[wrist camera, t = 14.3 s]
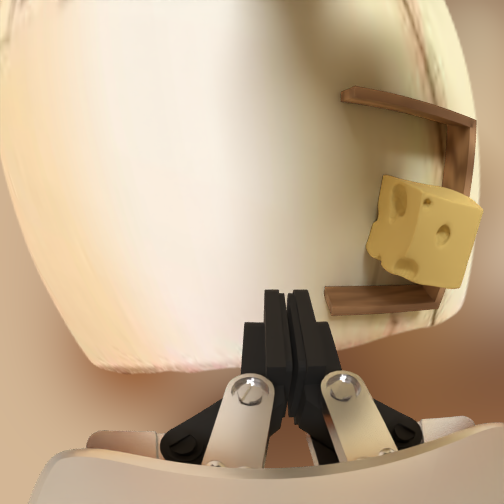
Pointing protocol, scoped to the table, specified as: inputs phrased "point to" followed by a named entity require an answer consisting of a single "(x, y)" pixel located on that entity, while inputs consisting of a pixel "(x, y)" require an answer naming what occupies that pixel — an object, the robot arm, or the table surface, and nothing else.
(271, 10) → the table surface
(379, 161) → the table surface
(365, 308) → the wooden u-shaped bracket
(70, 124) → the table surface
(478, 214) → the cheese
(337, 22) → the table surface
